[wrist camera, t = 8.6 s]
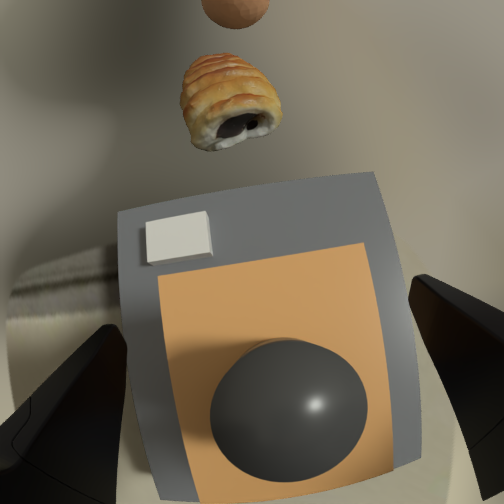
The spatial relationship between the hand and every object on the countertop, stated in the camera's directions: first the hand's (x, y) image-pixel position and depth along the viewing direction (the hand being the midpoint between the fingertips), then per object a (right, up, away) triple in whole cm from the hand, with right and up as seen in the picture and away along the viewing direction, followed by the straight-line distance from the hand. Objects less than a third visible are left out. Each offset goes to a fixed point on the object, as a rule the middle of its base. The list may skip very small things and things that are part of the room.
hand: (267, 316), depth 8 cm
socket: (+1, -3, +7) cm, 8 cm away
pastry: (-2, +12, +12) cm, 17 cm away
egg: (-2, +25, +15) cm, 29 cm away
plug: (+1, -3, +7) cm, 8 cm away
